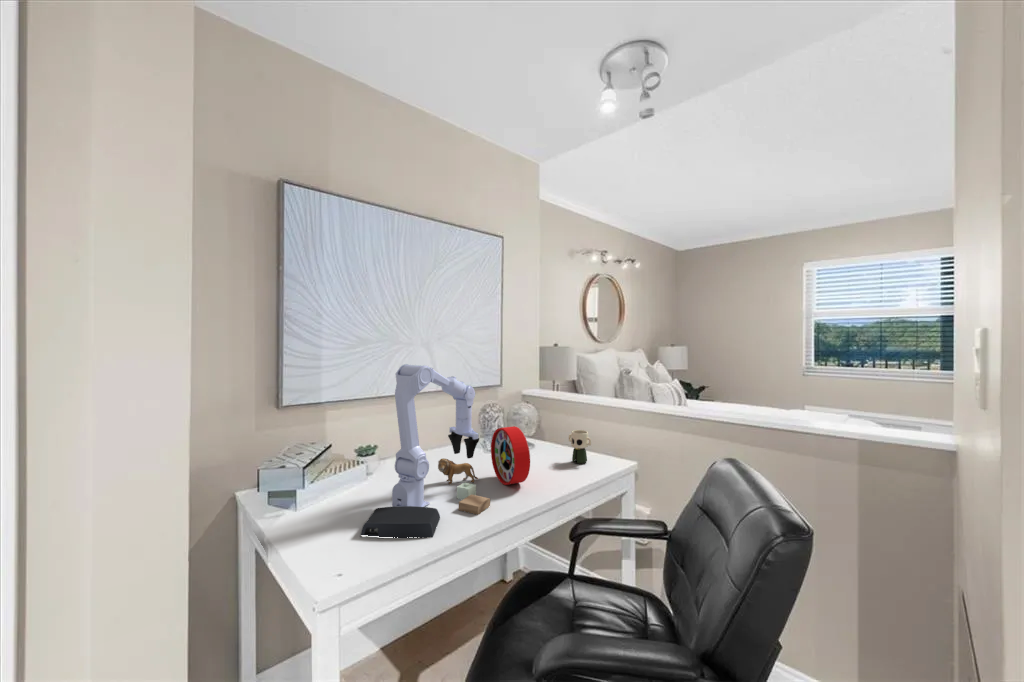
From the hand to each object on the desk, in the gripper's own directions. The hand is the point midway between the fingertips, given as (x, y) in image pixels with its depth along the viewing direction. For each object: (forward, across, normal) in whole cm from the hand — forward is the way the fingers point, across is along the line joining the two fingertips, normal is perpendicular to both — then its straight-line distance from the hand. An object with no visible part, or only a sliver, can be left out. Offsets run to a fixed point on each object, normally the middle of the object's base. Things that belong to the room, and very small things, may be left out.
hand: (463, 455), depth 149 cm
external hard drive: (+11, -15, +33) cm, 38 cm away
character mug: (+10, -15, -50) cm, 53 cm away
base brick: (+10, -20, +11) cm, 25 cm away
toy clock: (+10, -11, -12) cm, 20 cm away
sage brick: (+10, -11, +7) cm, 17 cm away
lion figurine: (+10, +2, +1) cm, 11 cm away
